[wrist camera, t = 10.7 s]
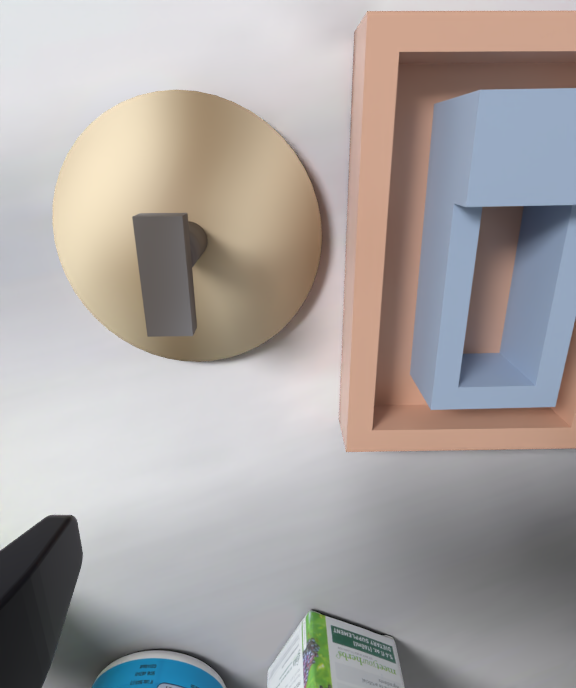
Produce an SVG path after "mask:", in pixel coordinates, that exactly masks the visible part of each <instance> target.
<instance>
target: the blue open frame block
mask: <svg viewBox="0 0 576 688" xmlns="http://www.w3.org/2000/svg"><path fill="white" fill-rule="evenodd" d="M495 206H524V208H523V214H522V220H521V226H520V232H519V238H518V244H517V250H516V256H515V262H514V268H513V274H512V280H511V286H510V292H509V298H508V304H507V310H506V316H505V322H504V328H503V334H502V340H501V346H500V352H499V353H471V354H463V348H464V341H465V333H466V326H467V318H468V311H469V303H470V296H471V288H472V281H473V274H474V266H475V259H476V251H477V244H478V236H479V229H480V221H481V214H482V207H495ZM575 318H576V88H551V89H494V90H478V91H474V92H471V93H468V94H465V95H462V96H458V97H455V98H452V99H449V100H445V101H442V102H439V103H436V104H434V110H433V121H432V132H431V144H430V155H429V166H428V177H427V188H426V199H425V211H424V222H423V233H422V244H421V255H420V266H419V278H418V289H417V300H416V311H415V322H414V333H413V345H412V356H411V367H410V375H411V377H412V379H413V380H414V382H415V384H416V386H417V387H418V389H419V391H420V392H421V394H422V396H423V397H424V399H425V401H426V403H427V404H428V406H429V408H430V409H431V410H449V409H491V408H532V407H555V406H556V402H557V397H558V393H559V389H560V384H561V380H562V375H563V371H564V366H565V362H566V358H567V353H568V349H569V344H570V340H571V335H572V331H573V327H574V322H575Z"/></svg>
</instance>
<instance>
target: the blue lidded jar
mask: <svg viewBox="0 0 576 688" xmlns="http://www.w3.org/2000/svg"><path fill="white" fill-rule="evenodd" d="M92 688H226V686H225V684H224V682H223V680H222V679H221V677H220V676H219V675H218V674H217V673H216V672H215V671H214V670H213V669H212V668H211V667H210V666H208V665H207V664H205V663H204V662H202V661H200V660H198V659H196V658H194V657H191V656H189V655H185V654H182V653H178V652H172V651H162V650H152V651H142V652H137V653H133V654H130V655H127V656H124V657H122V658H119V659H118V660H116V661H114V662H112V663H111V664H109V665H108V666H107V667H106V668H105V669H104V670H103V671H102V672H101V673H100V674H99V675H98V677H97V678H96V680H95V681H94V683H93V685H92Z"/></svg>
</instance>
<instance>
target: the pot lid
mask: <svg viewBox="0 0 576 688" xmlns="http://www.w3.org/2000/svg"><path fill="white" fill-rule="evenodd" d="M53 231H54V239H55V244H56V248H57V252H58V256H59V259H60V262H61V264H62V267H63V269H64V272H65V275H66V277H67V278H68V280H69V282H70V284H71V286H72V288H73V290H74V291H75V293H76V294H77V296H78V297H79V298H80V300H81V301H82V303H83V304H84V306H85V307H86V308H87V309H88V310H89V311H90V312H91V313H92V315H93V316H94V317H95V318H96V319H97V320H98V321H99V322H101V323H102V324H103V325H104V326H105V327H106V328H107V329H108V330H110V331H111V332H112V333H114V334H115V335H117V336H118V337H119V338H121V339H122V340H124V341H126V342H128V343H130V344H131V345H133V346H135V347H137V348H139V349H142V350H144V351H146V352H149V353H151V354H154V355H158V356H161V357H165V358H169V359H175V360H181V361H196V362H201V361H215V360H220V359H225V358H230V357H233V356H236V355H239V354H242V353H245V352H247V351H249V350H252V349H254V348H256V347H258V346H260V345H261V344H263V343H264V342H266V341H267V340H269V339H271V338H272V337H273V336H274V335H276V334H277V333H278V332H279V331H280V330H282V329H283V328H284V327H285V326H286V325H287V324H288V323H289V321H290V320H291V319H292V318H293V317H294V316H295V315H296V313H297V312H298V310H299V309H300V307H301V306H302V304H303V303H304V301H305V299H306V297H307V295H308V293H309V292H310V290H311V287H312V285H313V282H314V279H315V276H316V274H317V269H318V265H319V260H320V255H321V243H322V231H321V218H320V212H319V207H318V202H317V199H316V196H315V192H314V189H313V186H312V184H311V181H310V179H309V177H308V175H307V173H306V170H305V168H304V167H303V165H302V163H301V162H300V160H299V159H298V157H297V155H296V154H295V152H294V151H293V150H292V149H291V147H290V146H289V145H288V144H287V142H286V141H285V140H284V139H283V138H282V136H281V135H279V134H278V133H277V132H276V131H275V130H274V129H273V128H272V127H271V126H270V125H269V124H268V123H266V122H265V121H264V120H262V119H261V118H260V117H258V116H257V115H255V114H254V113H253V112H251V111H249V110H247V109H246V108H244V107H242V106H240V105H238V104H236V103H234V102H232V101H229V100H226V99H224V98H221V97H218V96H215V95H211V94H207V93H202V92H197V91H186V90H167V91H156V92H152V93H147V94H143V95H139V96H136V97H134V98H131V99H129V100H126V101H124V102H121V103H119V104H118V105H116V106H114V107H112V108H111V109H109V110H107V111H106V112H104V113H103V114H102V115H101V116H99V117H98V118H97V119H96V120H94V121H93V122H92V123H91V124H90V125H89V126H88V127H87V128H86V129H85V130H84V132H83V133H82V134H81V135H80V136H79V137H78V138H77V140H76V141H75V143H74V145H73V146H72V148H71V149H70V151H69V152H68V154H67V156H66V158H65V161H64V163H63V165H62V167H61V170H60V173H59V176H58V180H57V183H56V187H55V193H54V200H53Z"/></svg>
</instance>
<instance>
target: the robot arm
mask: <svg viewBox="0 0 576 688" xmlns="http://www.w3.org/2000/svg"><path fill="white" fill-rule="evenodd" d="M82 558H83V552H82V546H81V540H80V534H79V529H78V523H77V520H76V518H75V517H74V516H72V515H50V516H47V517H46V518H44V519H43V520H41V521H40V522H39V523H37V524H36V525H35V526H33V527H32V528H30V529H29V530H28V531H26V532H25V533H24V534H22V535H21V536H20V537H18V538H17V539H16V540H14V541H13V542H11V543H10V544H9V545H7V546H6V547H5V548H3V549H2V550H1V551H0V688H42V686H43V683H44V681H45V678H46V676H47V673H48V670H49V668H50V665H51V663H52V660H53V657H54V653H55V650H56V647H57V644H58V641H59V638H60V634H61V631H62V628H63V624H64V621H65V618H66V615H67V611H68V608H69V605H70V602H71V598H72V595H73V592H74V588H75V585H76V582H77V579H78V575H79V572H80V569H81V565H82Z"/></svg>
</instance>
